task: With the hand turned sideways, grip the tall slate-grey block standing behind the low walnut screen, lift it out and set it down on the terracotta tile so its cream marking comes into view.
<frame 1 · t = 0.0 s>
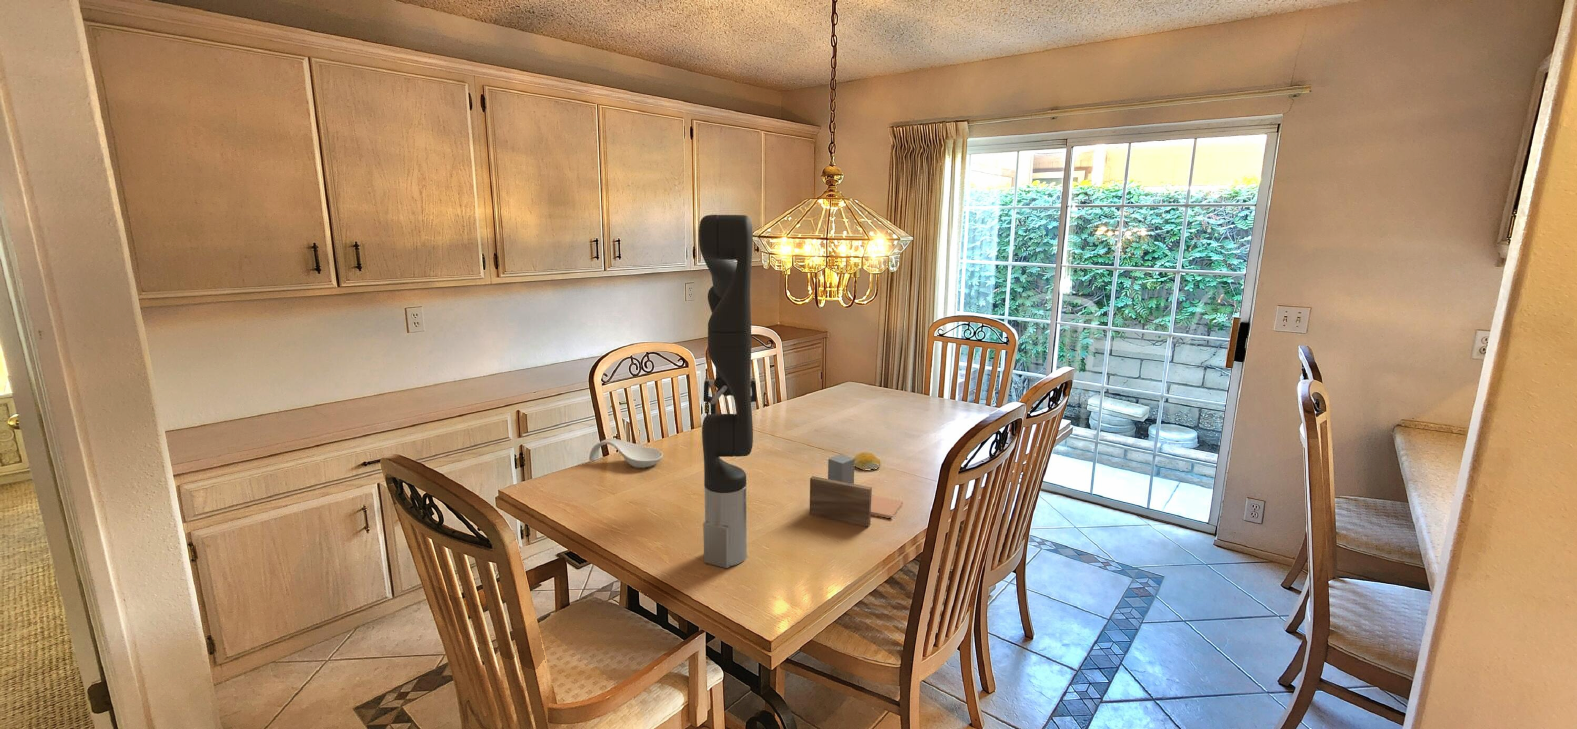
hand: (730, 415, 175), 22 cm above the table, tool pointing down, fingers open, 8 cm apart
terracotta tile: (879, 508, 170), on the table
spoon rest: (626, 464, 201), on the table
slate block: (840, 500, 175), on the table
bread roll: (866, 467, 201), on the table
walnut screen: (839, 519, 164), on the table
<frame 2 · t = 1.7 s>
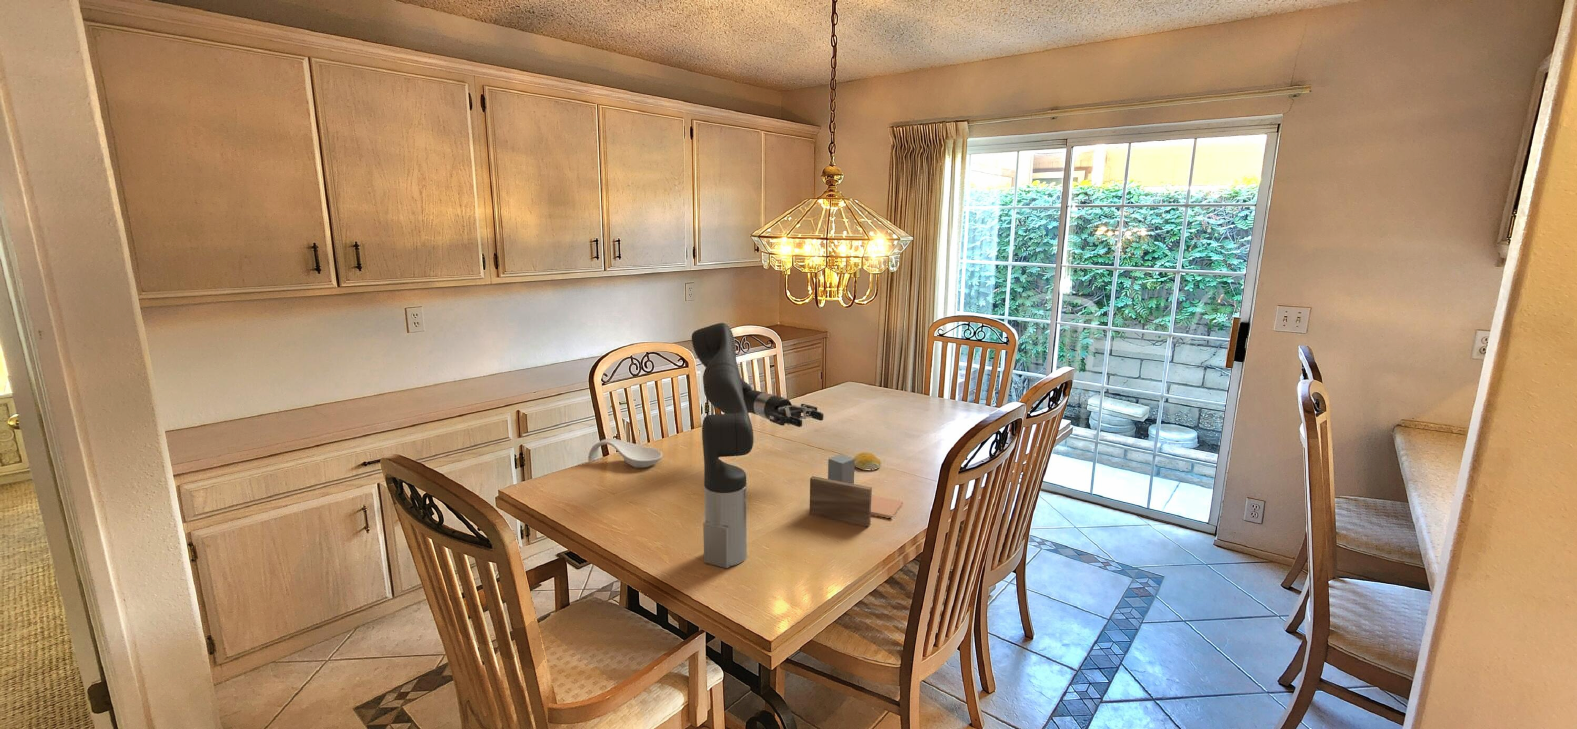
hand: (812, 420, 178), 20 cm above the table, tool horizontal, fingers open, 8 cm apart
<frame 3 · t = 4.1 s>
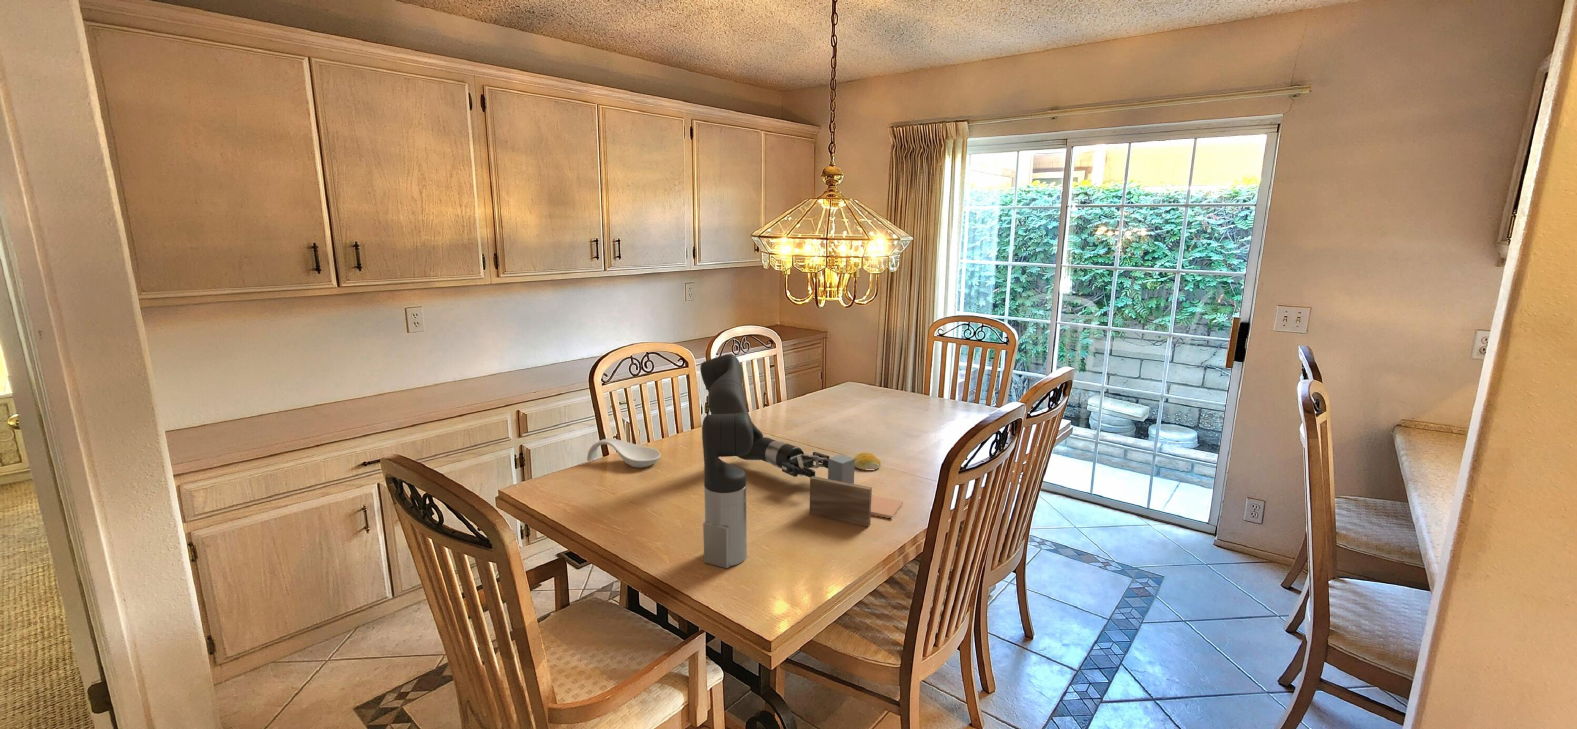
hand: (825, 470, 177), 7 cm above the table, tool horizontal, fingers open, 8 cm apart
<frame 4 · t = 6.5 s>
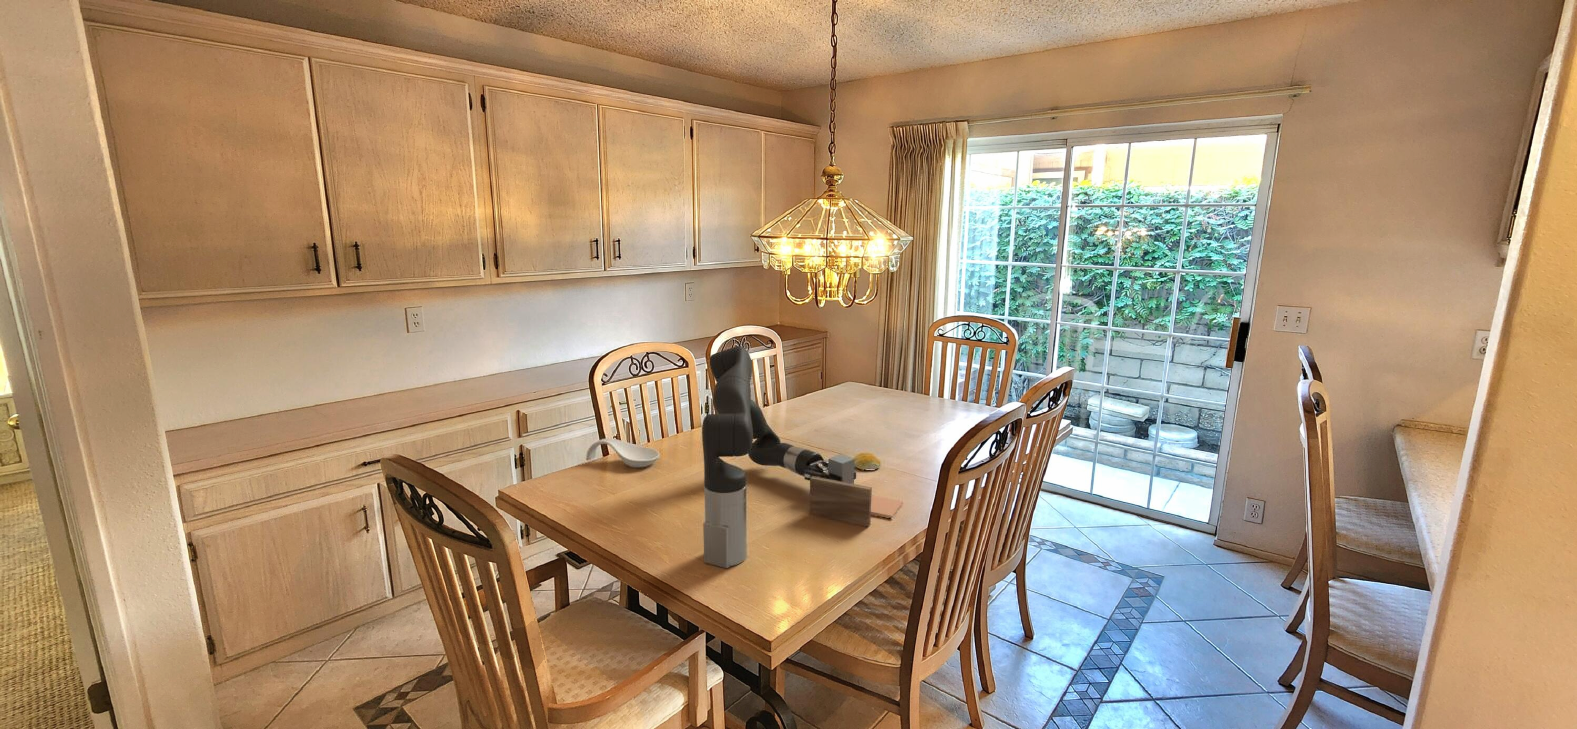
hand: (848, 478, 172), 7 cm above the table, tool horizontal, fingers closed on slate block, 5 cm apart
slate block: (840, 500, 175), on the table, touching gripper
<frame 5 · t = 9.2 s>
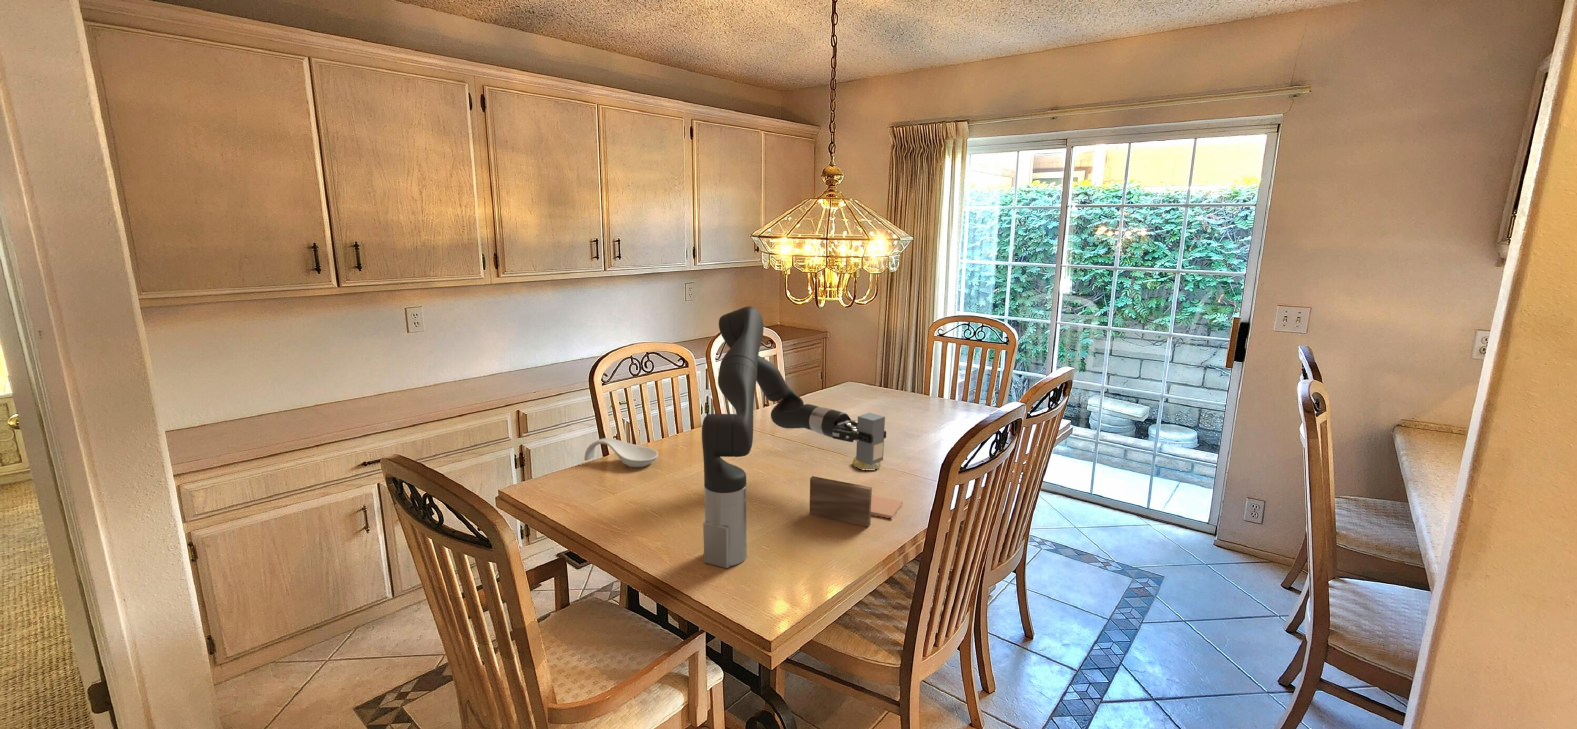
hand: (878, 437, 166), 20 cm above the table, tool horizontal, fingers closed on slate block, 5 cm apart
slate block: (869, 460, 169), point 13 cm above the table, touching gripper
when the fingers open (9 cm above the table, at t = 11.9 s): slate block drops 1 cm, resting on terracotta tile.
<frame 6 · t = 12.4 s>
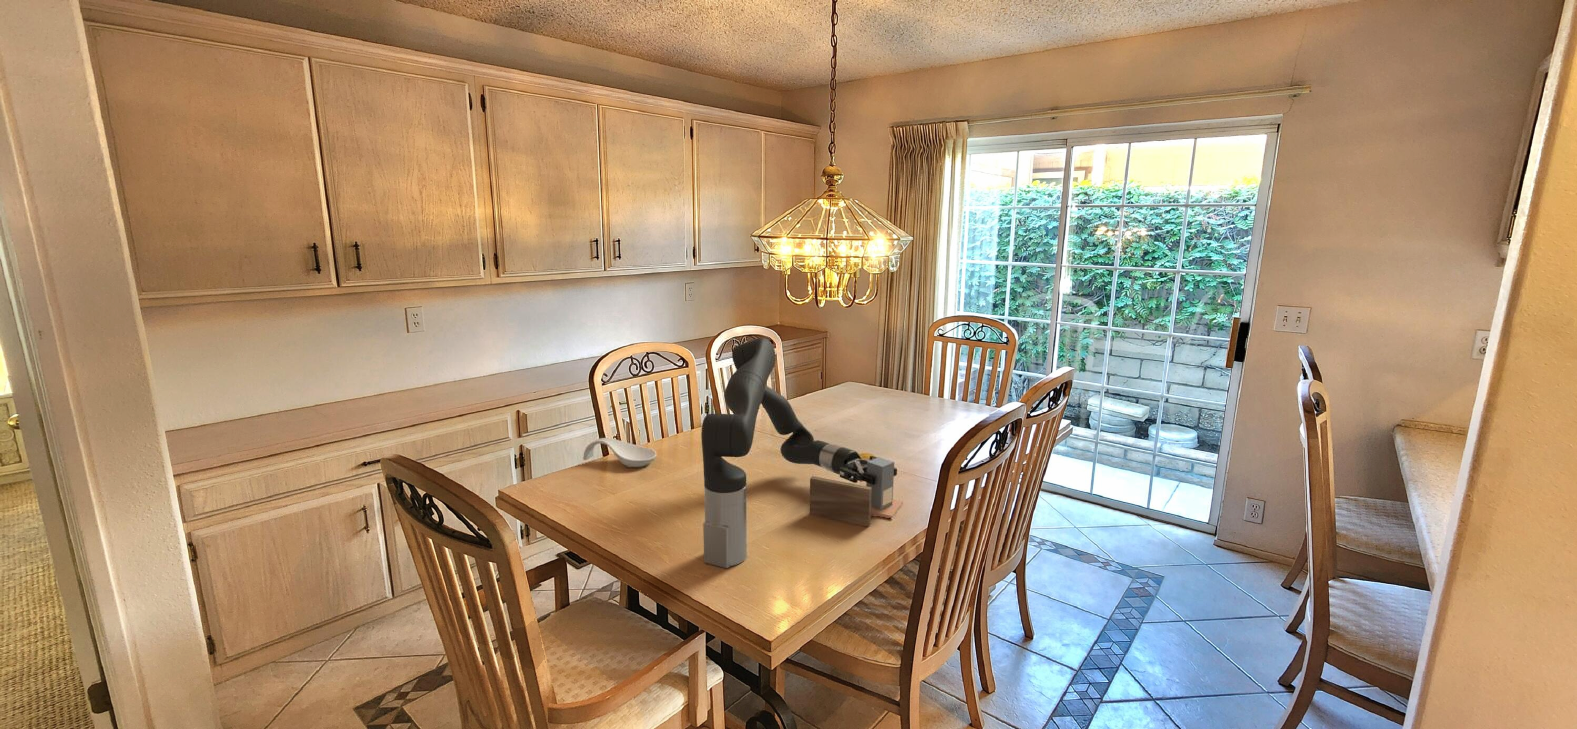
hand: (886, 476, 167), 10 cm above the table, tool horizontal, fingers open, 8 cm apart
slate block: (878, 504, 170), point 1 cm above the table, touching terracotta tile
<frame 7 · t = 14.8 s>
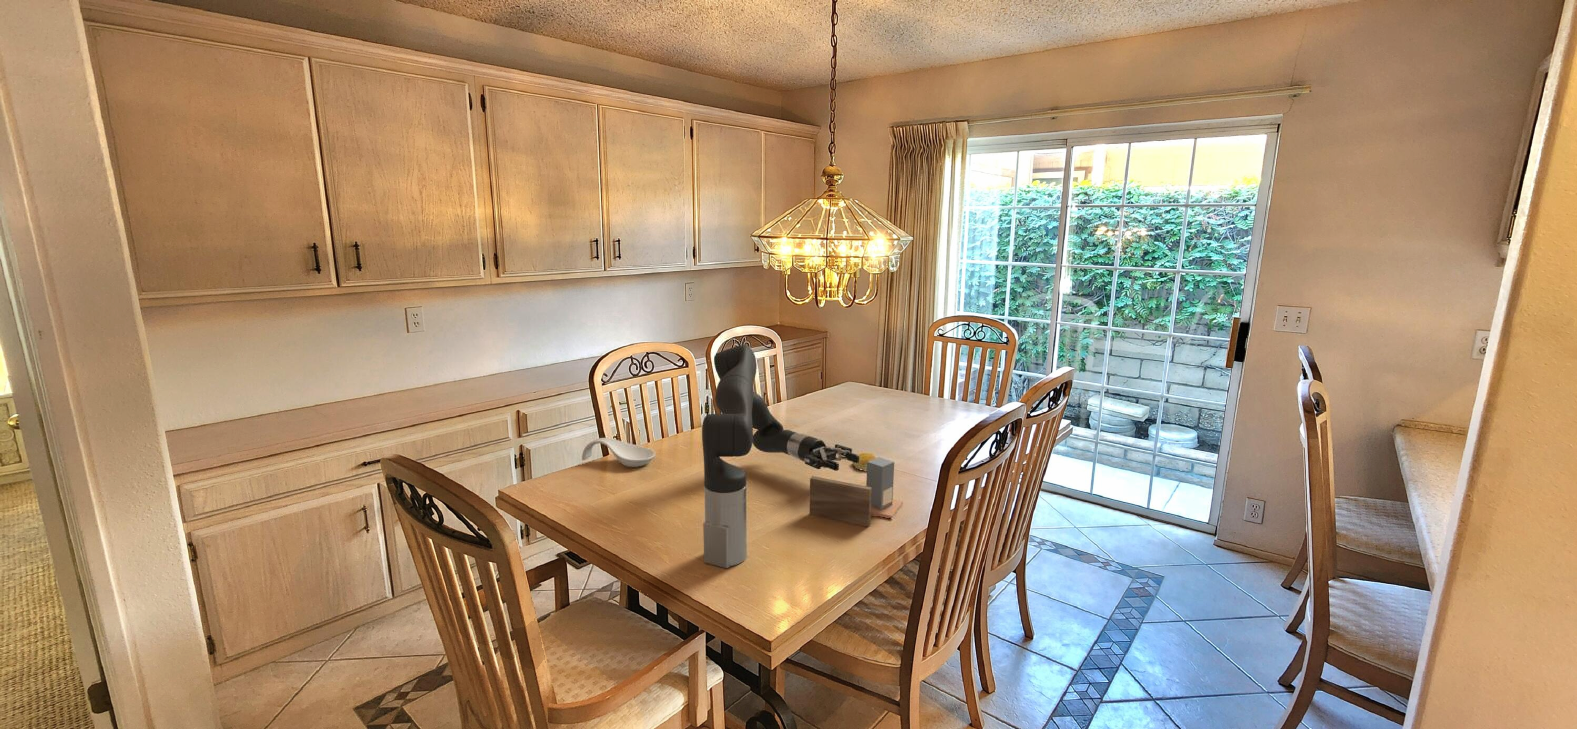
hand: (848, 463, 176), 10 cm above the table, tool horizontal, fingers open, 8 cm apart
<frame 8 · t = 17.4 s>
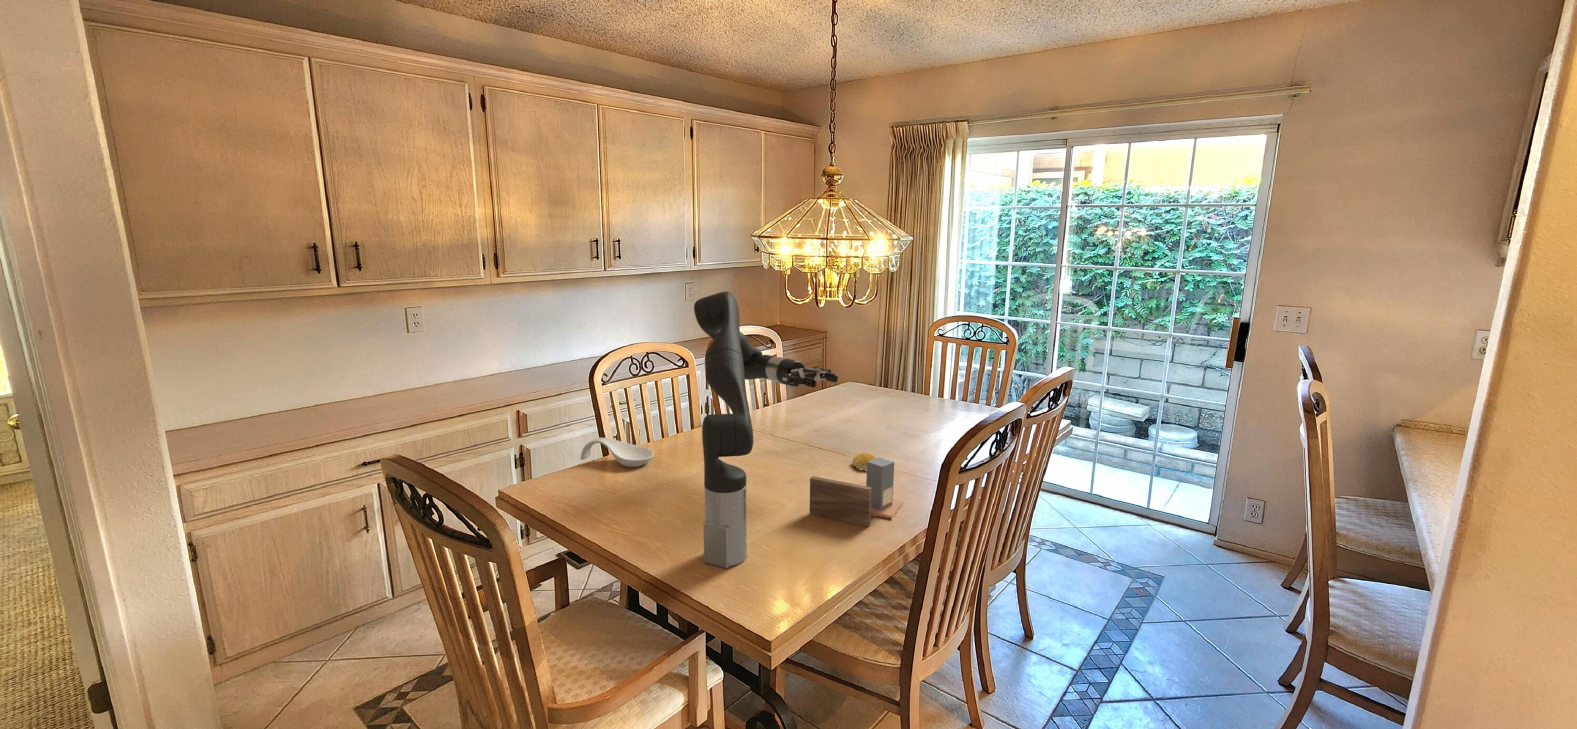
hand: (826, 381, 174), 32 cm above the table, tool horizontal, fingers open, 8 cm apart
at the end: slate block inside the target area (0.1 cm from its centre), point 1.0 cm above the table; slate block tilted 0°; the gripper is holding nothing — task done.
